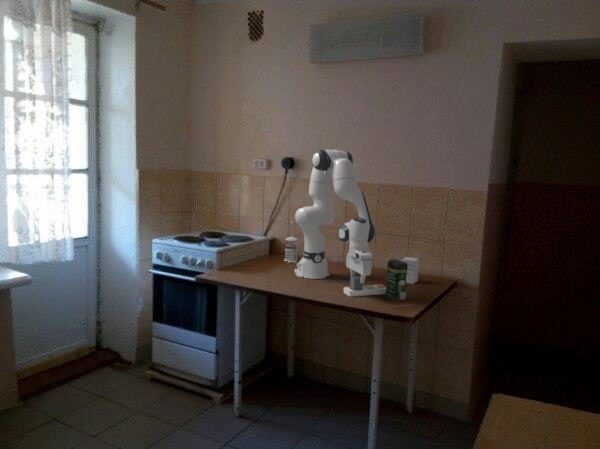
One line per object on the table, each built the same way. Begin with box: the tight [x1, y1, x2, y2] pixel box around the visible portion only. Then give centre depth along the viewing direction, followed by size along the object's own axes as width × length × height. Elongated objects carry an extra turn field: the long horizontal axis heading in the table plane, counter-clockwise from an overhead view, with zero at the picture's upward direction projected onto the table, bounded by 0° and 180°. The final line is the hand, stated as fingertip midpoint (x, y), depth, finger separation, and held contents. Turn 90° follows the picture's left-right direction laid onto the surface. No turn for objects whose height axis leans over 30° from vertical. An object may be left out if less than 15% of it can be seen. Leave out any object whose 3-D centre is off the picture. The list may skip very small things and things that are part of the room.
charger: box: [349, 275, 364, 291], centre depth 232 cm, size 4×4×8 cm
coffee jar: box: [385, 258, 408, 301], centre depth 229 cm, size 10×8×19 cm
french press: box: [283, 221, 300, 263], centre depth 303 cm, size 10×12×25 cm
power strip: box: [343, 284, 387, 297], centre depth 234 cm, size 7×20×4 cm, turn 109°
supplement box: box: [401, 256, 420, 285], centre depth 262 cm, size 7×7×13 cm
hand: (357, 280), depth 232 cm, fingers open, 8 cm apart
